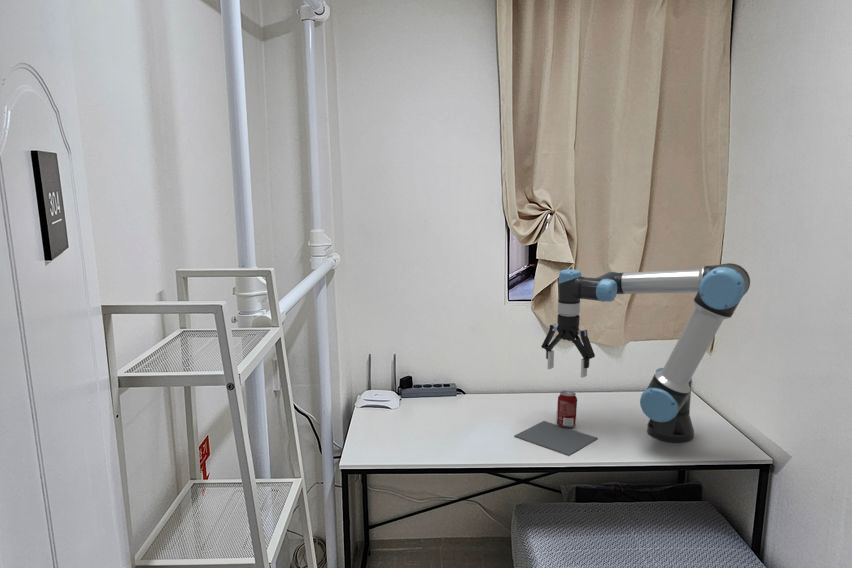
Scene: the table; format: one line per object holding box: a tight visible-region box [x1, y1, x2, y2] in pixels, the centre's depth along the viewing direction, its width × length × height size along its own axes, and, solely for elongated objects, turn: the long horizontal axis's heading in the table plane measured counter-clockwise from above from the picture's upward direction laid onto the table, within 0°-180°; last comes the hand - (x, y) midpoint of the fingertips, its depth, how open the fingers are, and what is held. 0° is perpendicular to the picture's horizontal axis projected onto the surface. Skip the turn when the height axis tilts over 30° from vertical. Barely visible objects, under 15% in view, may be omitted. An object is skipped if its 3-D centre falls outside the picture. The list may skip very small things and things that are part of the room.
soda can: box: [555, 390, 578, 429], centre depth 225 cm, size 7×7×12 cm
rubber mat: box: [513, 420, 599, 457], centre depth 216 cm, size 22×18×1 cm
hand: (566, 372), depth 222 cm, fingers open, 13 cm apart
